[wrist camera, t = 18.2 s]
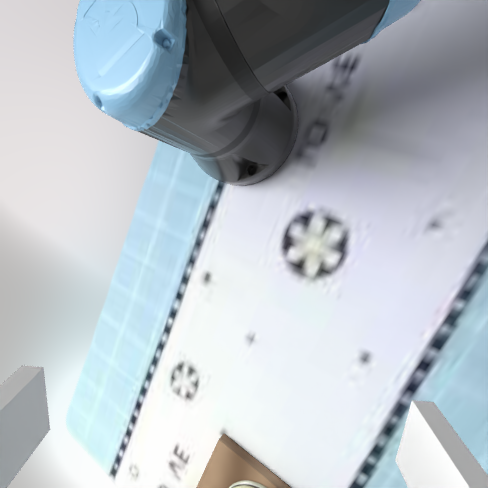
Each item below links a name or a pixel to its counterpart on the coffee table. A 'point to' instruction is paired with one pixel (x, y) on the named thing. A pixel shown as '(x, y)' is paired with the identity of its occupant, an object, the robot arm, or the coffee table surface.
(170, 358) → the coffee table surface
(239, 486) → the coffee can
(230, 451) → the walnut board
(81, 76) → the robot arm
